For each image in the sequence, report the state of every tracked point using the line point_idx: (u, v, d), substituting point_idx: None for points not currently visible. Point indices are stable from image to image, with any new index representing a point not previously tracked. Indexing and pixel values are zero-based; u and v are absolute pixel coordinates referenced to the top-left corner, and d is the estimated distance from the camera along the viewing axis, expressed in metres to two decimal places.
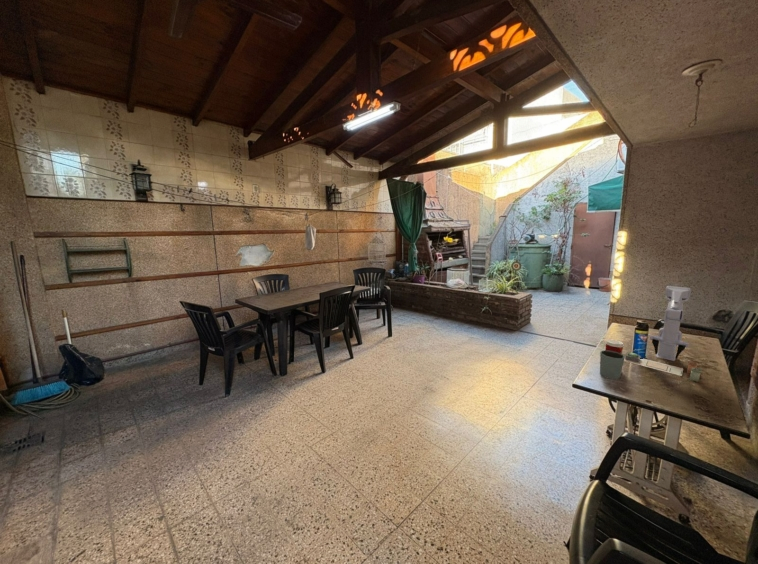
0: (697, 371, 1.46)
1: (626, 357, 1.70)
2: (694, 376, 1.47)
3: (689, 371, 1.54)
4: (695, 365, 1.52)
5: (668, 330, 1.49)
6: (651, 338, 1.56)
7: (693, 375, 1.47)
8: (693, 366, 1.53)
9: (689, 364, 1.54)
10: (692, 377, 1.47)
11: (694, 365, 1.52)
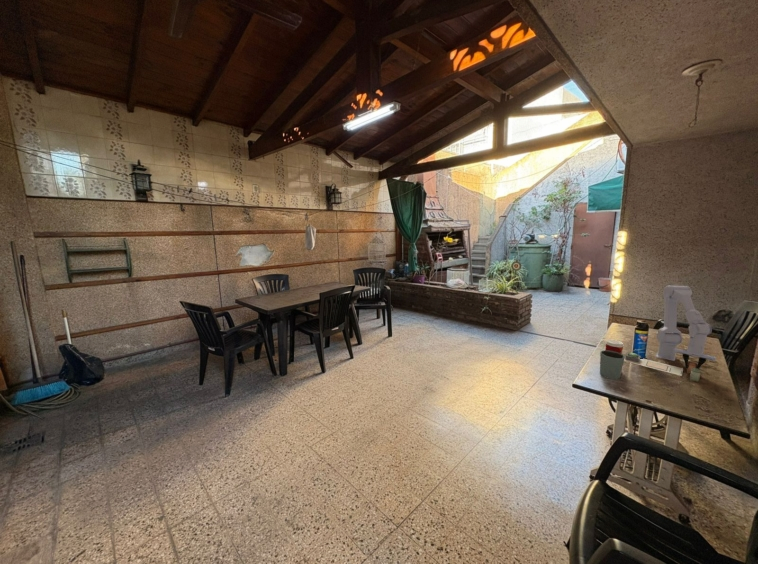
0: (697, 371, 1.46)
1: (626, 357, 1.70)
2: (694, 376, 1.47)
3: (689, 371, 1.54)
4: (695, 365, 1.52)
5: (699, 345, 1.49)
6: (676, 351, 1.57)
7: (693, 375, 1.47)
8: (693, 366, 1.53)
9: (689, 364, 1.54)
10: (692, 377, 1.47)
11: (694, 365, 1.52)
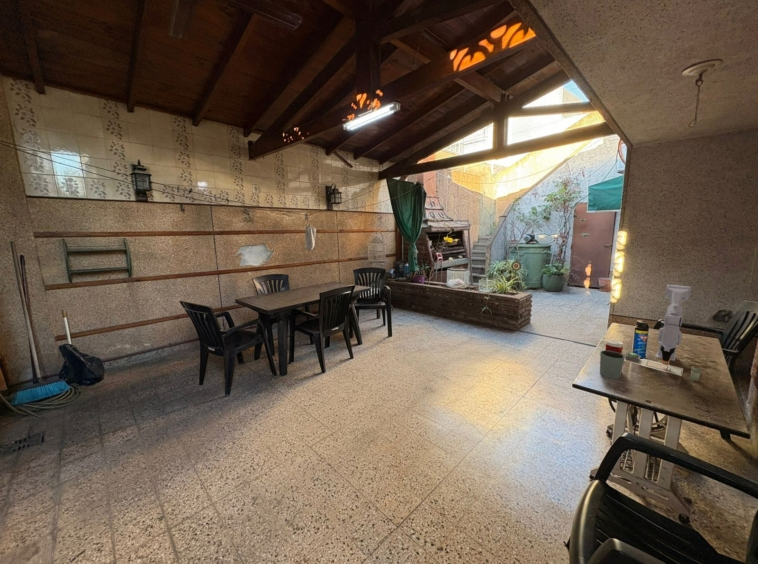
0: (697, 371, 1.46)
1: (626, 357, 1.70)
2: (694, 376, 1.47)
3: None
4: None
5: (668, 335, 1.55)
6: None
7: (693, 375, 1.47)
8: None
9: None
10: (692, 377, 1.47)
11: None
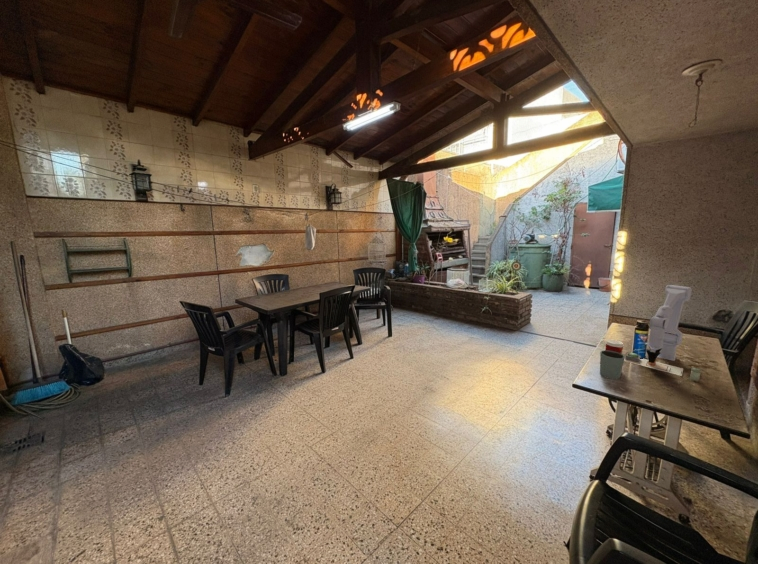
0: (697, 371, 1.46)
1: (626, 357, 1.70)
2: (694, 376, 1.47)
3: None
4: None
5: (652, 336, 1.60)
6: None
7: (693, 375, 1.47)
8: None
9: None
10: (692, 377, 1.47)
11: None
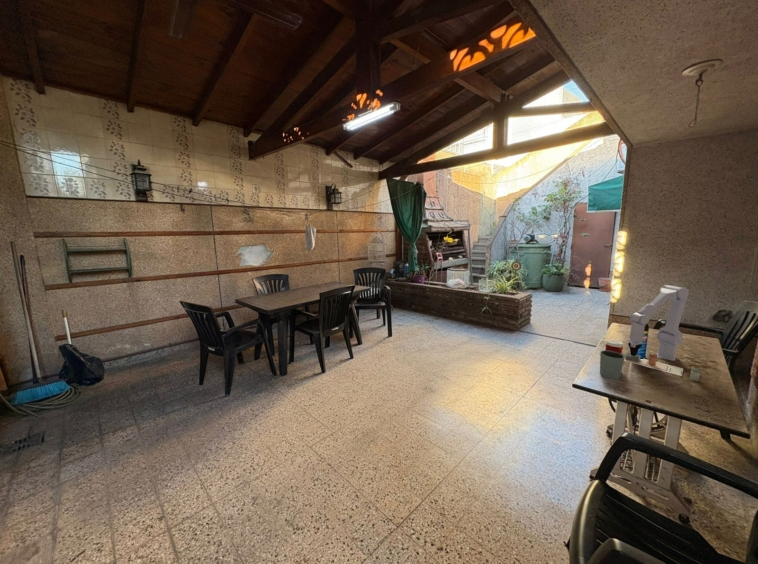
0: (697, 371, 1.46)
1: (626, 357, 1.70)
2: (694, 376, 1.47)
3: None
4: (650, 355, 1.63)
5: (631, 331, 1.67)
6: None
7: (693, 375, 1.47)
8: (649, 356, 1.64)
9: None
10: (692, 377, 1.47)
11: (649, 355, 1.63)
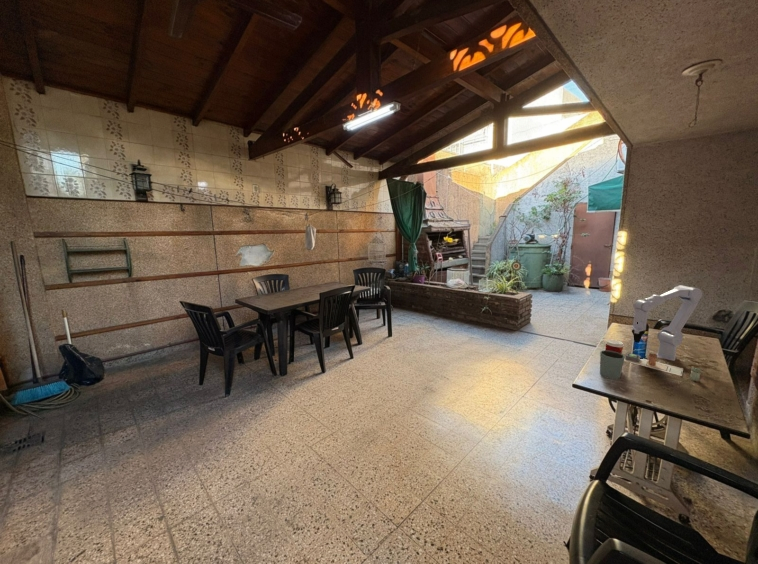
0: (697, 371, 1.46)
1: (626, 357, 1.70)
2: (694, 376, 1.47)
3: None
4: (650, 355, 1.63)
5: (634, 318, 1.70)
6: None
7: (693, 375, 1.47)
8: (649, 356, 1.64)
9: None
10: (692, 377, 1.47)
11: (649, 355, 1.63)
